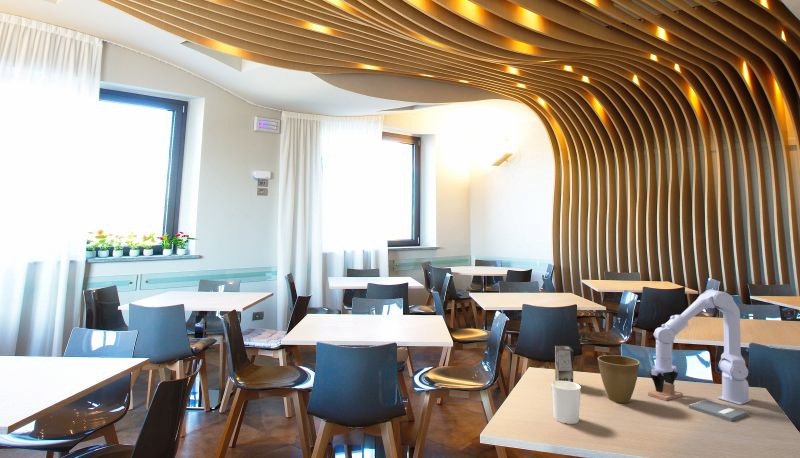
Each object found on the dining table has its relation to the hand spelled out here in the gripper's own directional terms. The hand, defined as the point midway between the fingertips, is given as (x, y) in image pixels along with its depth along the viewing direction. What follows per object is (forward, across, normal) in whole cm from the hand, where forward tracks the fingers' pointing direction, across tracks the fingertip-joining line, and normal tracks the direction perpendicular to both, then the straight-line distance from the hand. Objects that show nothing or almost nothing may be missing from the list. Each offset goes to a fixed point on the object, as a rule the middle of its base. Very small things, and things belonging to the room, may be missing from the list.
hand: (664, 390), depth 179 cm
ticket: (+2, 0, +20) cm, 20 cm away
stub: (+2, 0, 0) cm, 2 cm away
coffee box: (+2, +26, -28) cm, 39 cm away
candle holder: (+2, +56, -2) cm, 56 cm away
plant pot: (+2, +22, -6) cm, 23 cm away
